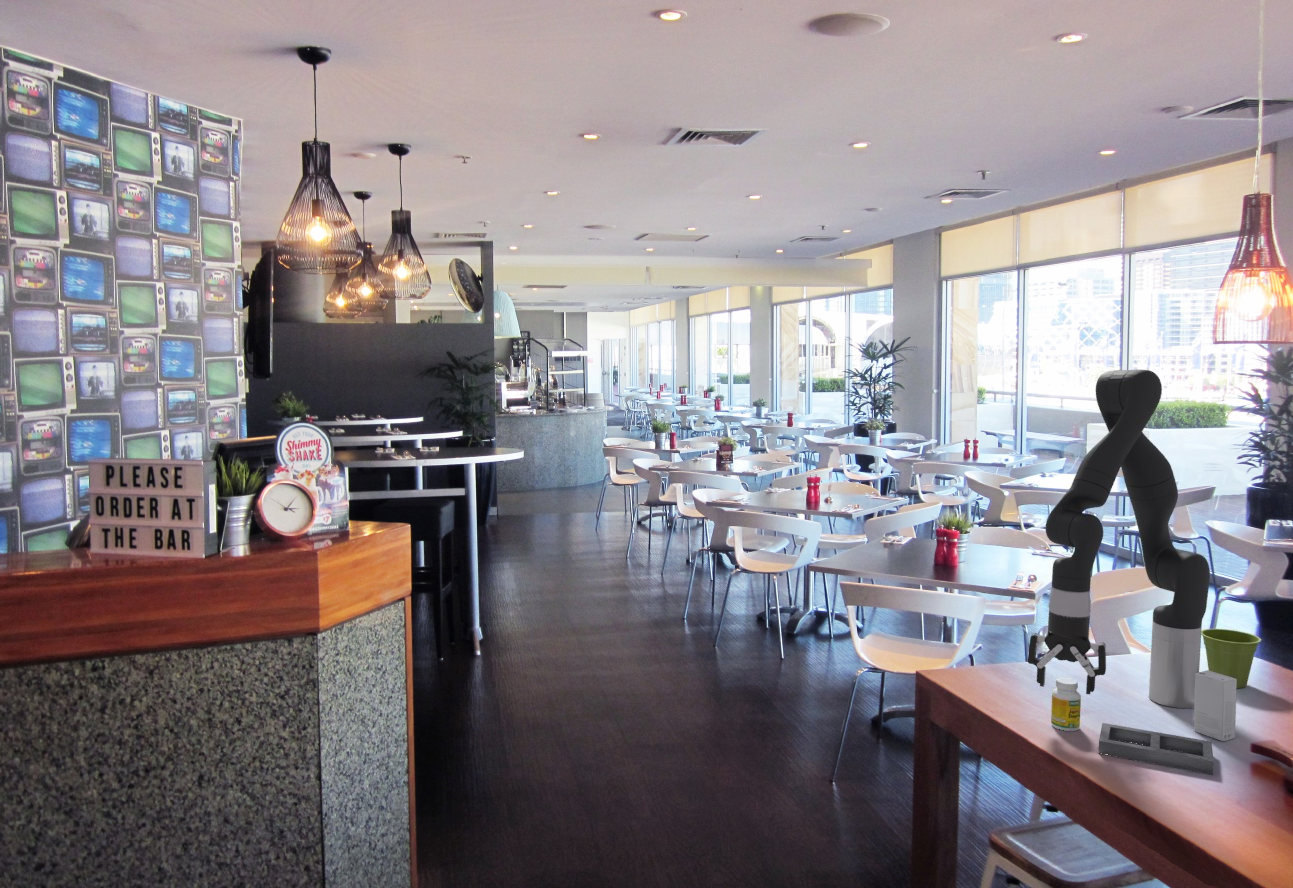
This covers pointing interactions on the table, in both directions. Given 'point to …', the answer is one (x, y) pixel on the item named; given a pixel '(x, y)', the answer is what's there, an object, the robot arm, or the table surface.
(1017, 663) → the table surface
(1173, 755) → the rail
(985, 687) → the table surface
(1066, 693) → the supplement bottle
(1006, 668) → the table surface
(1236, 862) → the table surface
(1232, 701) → the skincare box
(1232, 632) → the plant pot
